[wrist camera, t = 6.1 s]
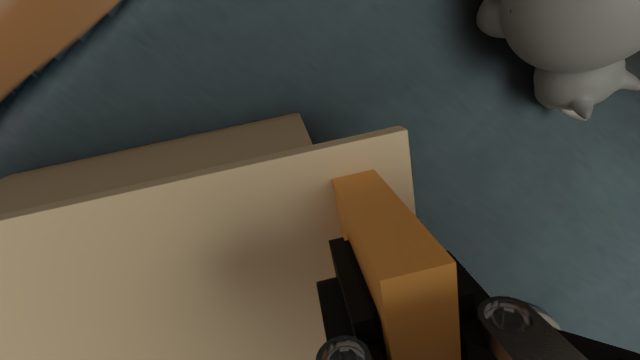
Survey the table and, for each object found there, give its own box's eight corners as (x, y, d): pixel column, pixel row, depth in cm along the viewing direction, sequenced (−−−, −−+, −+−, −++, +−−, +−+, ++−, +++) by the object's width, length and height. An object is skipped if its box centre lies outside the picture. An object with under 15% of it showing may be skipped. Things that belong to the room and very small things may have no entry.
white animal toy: (473, 112, 26) (564, 181, 19) (447, -56, 17) (591, -28, 11) (559, 61, 25) (682, 116, 19) (574, -138, 17) (801, -157, 11)
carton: (340, 306, 27) (370, 418, 19) (118, 361, 26) (44, 504, 18) (298, 111, 21) (314, 147, 13) (11, 174, 20) (-174, 256, 12)
